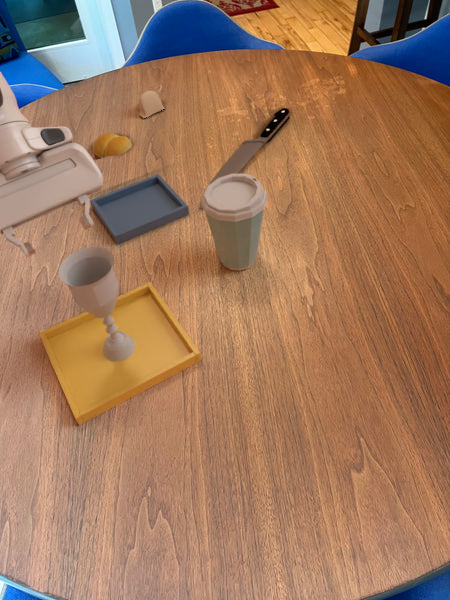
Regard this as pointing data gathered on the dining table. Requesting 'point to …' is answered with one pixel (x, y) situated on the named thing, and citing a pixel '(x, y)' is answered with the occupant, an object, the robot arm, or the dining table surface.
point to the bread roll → (111, 145)
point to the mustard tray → (123, 374)
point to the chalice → (97, 294)
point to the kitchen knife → (253, 145)
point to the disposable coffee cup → (235, 218)
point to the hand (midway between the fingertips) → (60, 240)
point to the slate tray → (139, 208)
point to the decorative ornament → (150, 102)
